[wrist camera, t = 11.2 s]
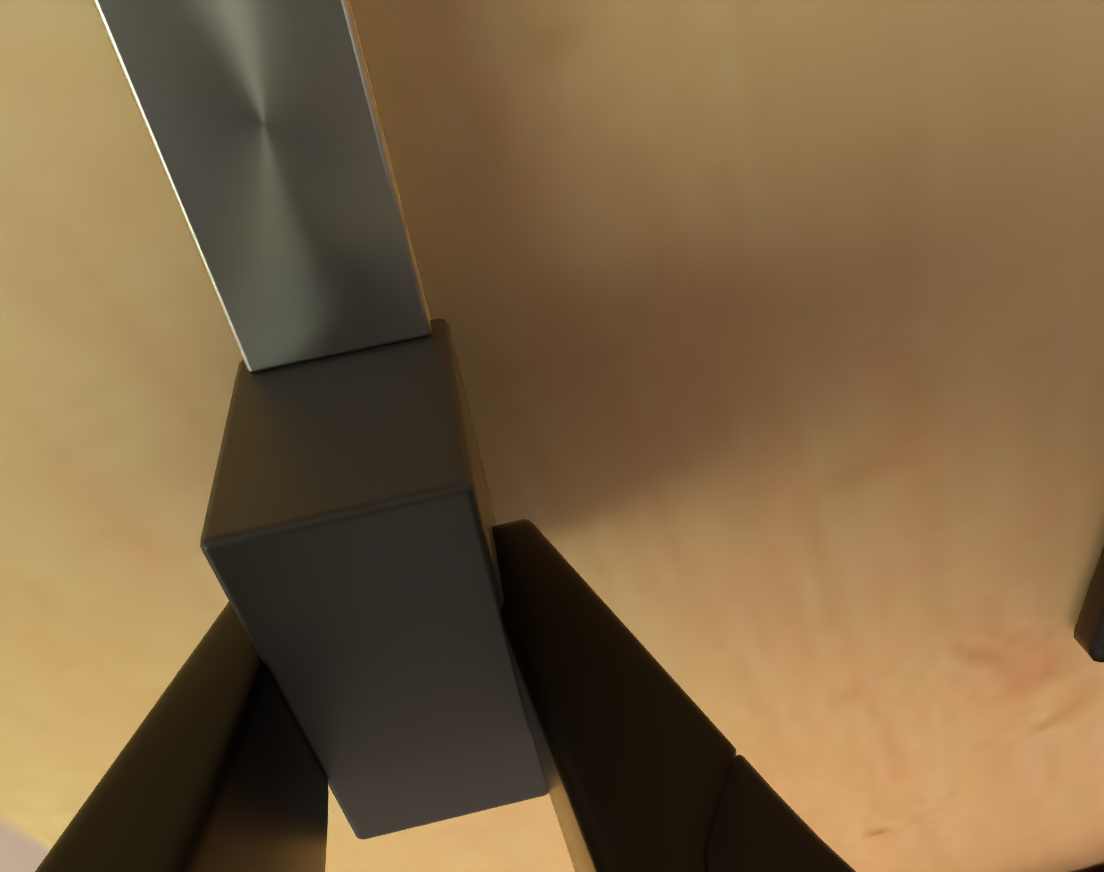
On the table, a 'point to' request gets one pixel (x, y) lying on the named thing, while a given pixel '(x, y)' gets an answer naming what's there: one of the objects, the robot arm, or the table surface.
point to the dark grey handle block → (334, 412)
